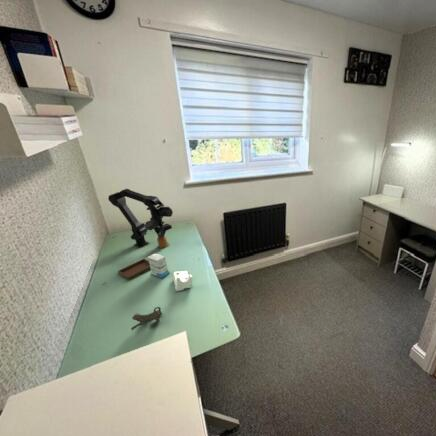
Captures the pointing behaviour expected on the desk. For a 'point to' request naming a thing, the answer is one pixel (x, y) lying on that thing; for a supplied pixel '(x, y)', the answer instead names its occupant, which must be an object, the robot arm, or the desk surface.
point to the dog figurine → (147, 318)
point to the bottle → (162, 242)
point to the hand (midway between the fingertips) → (161, 236)
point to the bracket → (182, 280)
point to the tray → (135, 269)
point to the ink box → (158, 265)
